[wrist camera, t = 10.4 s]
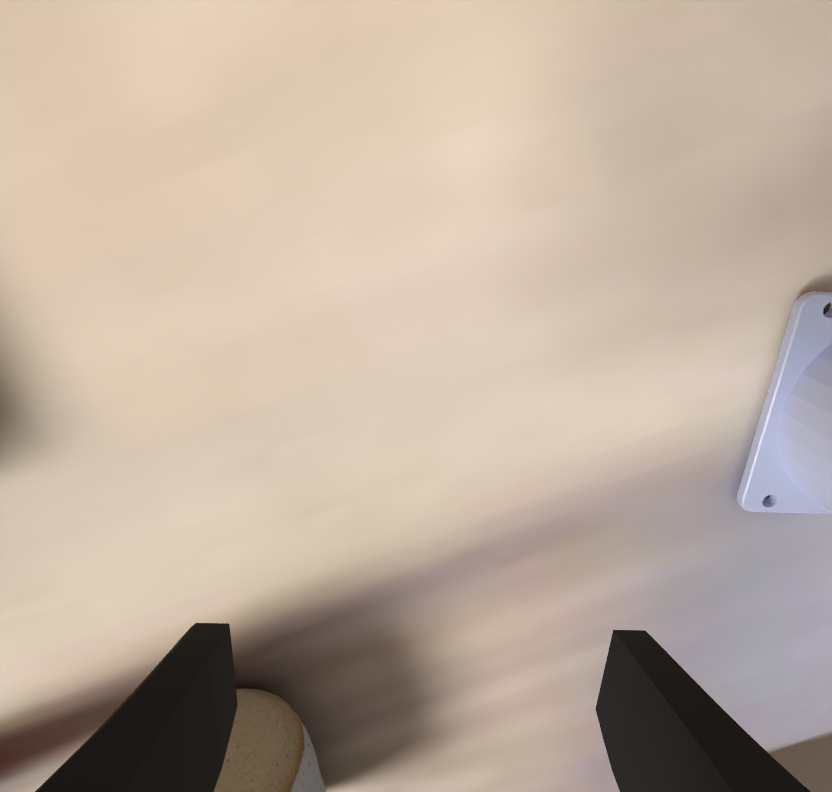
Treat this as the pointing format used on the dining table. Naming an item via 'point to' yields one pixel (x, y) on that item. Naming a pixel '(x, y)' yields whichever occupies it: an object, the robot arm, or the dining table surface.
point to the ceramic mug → (268, 748)
